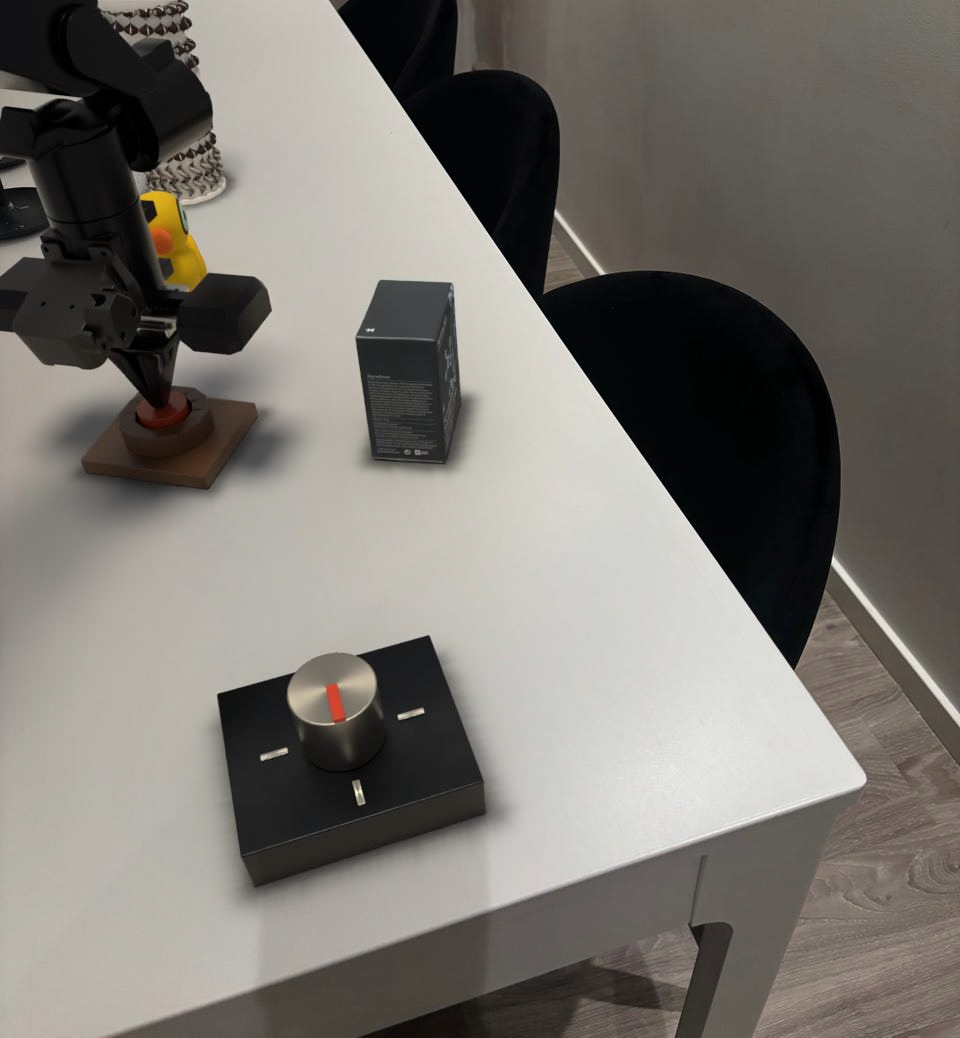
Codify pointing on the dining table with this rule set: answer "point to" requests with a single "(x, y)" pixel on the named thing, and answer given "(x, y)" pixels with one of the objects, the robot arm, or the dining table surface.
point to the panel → (353, 793)
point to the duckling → (175, 240)
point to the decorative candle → (157, 14)
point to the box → (410, 369)
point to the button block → (172, 442)
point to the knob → (337, 711)
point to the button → (163, 412)
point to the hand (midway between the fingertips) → (161, 405)
